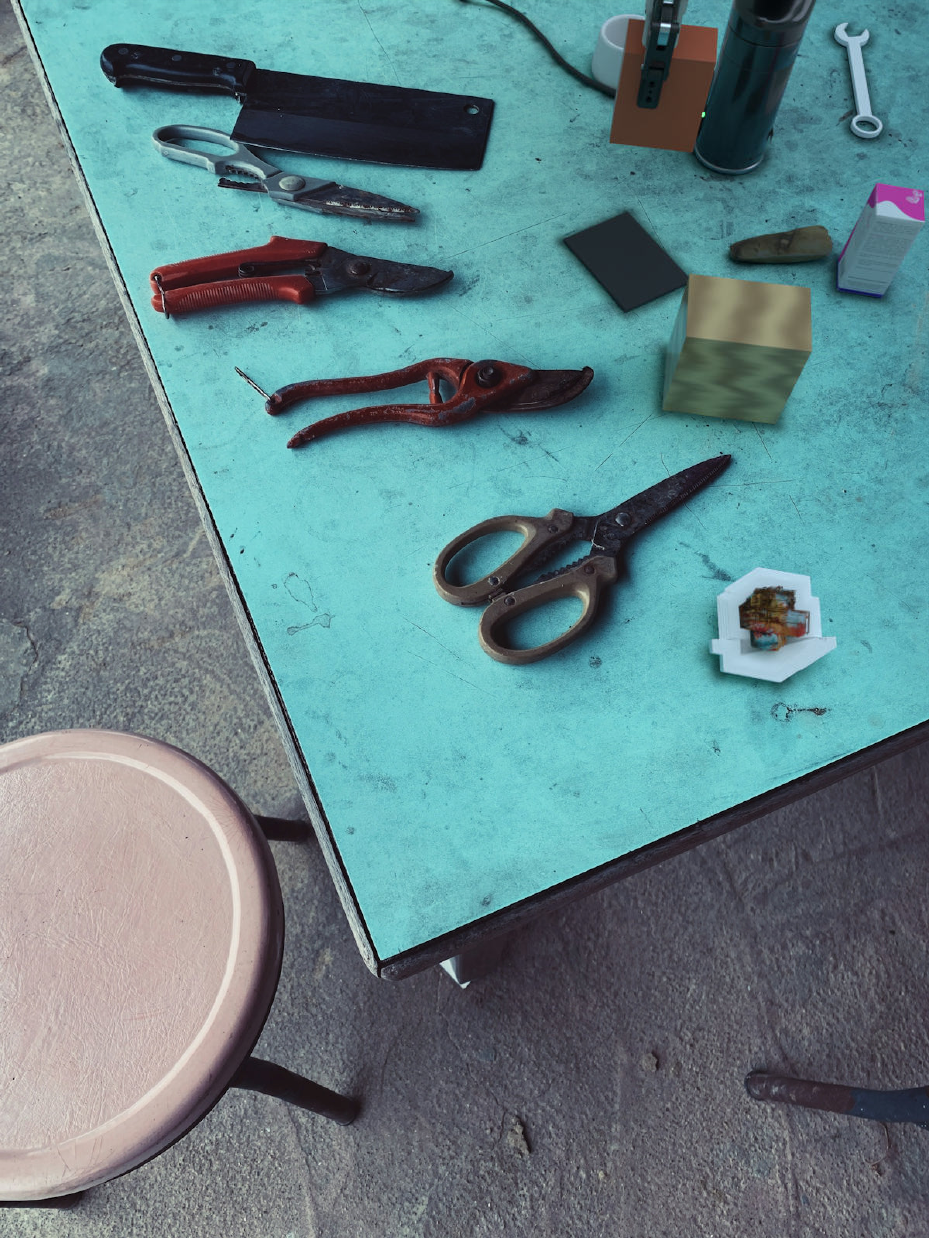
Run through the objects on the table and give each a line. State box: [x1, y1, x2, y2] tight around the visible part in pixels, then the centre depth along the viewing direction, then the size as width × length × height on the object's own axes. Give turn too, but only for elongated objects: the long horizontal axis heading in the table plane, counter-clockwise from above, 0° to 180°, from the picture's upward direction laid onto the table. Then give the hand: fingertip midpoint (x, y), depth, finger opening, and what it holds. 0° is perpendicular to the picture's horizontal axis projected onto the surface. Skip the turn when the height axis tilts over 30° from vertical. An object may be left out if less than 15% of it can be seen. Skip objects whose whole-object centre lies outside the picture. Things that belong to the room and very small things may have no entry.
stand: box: [661, 273, 813, 425], centre depth 103 cm, size 13×9×12 cm
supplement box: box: [836, 182, 926, 299], centre depth 111 cm, size 6×6×12 cm
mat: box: [562, 211, 689, 314], centre depth 117 cm, size 14×10×1 cm
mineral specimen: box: [708, 566, 838, 683], centre depth 91 cm, size 12×12×7 cm
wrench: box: [833, 22, 883, 139], centre depth 133 cm, size 25×1×5 cm
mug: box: [591, 13, 646, 91], centre depth 131 cm, size 12×10×6 cm
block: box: [608, 19, 719, 154], centre depth 97 cm, size 11×6×9 cm
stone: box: [728, 224, 834, 263], centre depth 117 cm, size 13×5×2 cm, turn 100°
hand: (648, 86), depth 96 cm, fingers closed on block, 5 cm apart
